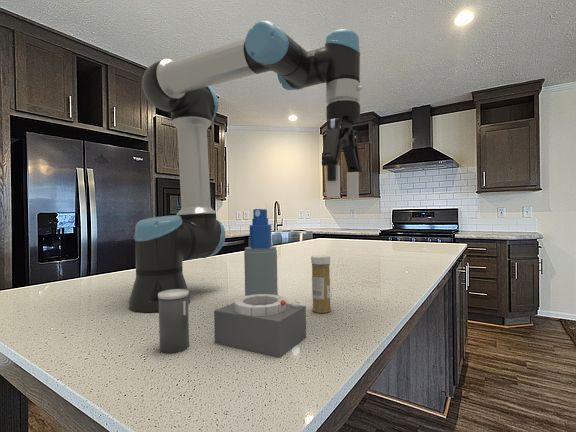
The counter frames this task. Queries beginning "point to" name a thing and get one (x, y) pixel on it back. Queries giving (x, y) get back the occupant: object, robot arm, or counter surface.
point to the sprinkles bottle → (321, 283)
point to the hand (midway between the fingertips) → (343, 198)
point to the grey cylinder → (173, 320)
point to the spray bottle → (260, 257)
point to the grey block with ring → (261, 324)
